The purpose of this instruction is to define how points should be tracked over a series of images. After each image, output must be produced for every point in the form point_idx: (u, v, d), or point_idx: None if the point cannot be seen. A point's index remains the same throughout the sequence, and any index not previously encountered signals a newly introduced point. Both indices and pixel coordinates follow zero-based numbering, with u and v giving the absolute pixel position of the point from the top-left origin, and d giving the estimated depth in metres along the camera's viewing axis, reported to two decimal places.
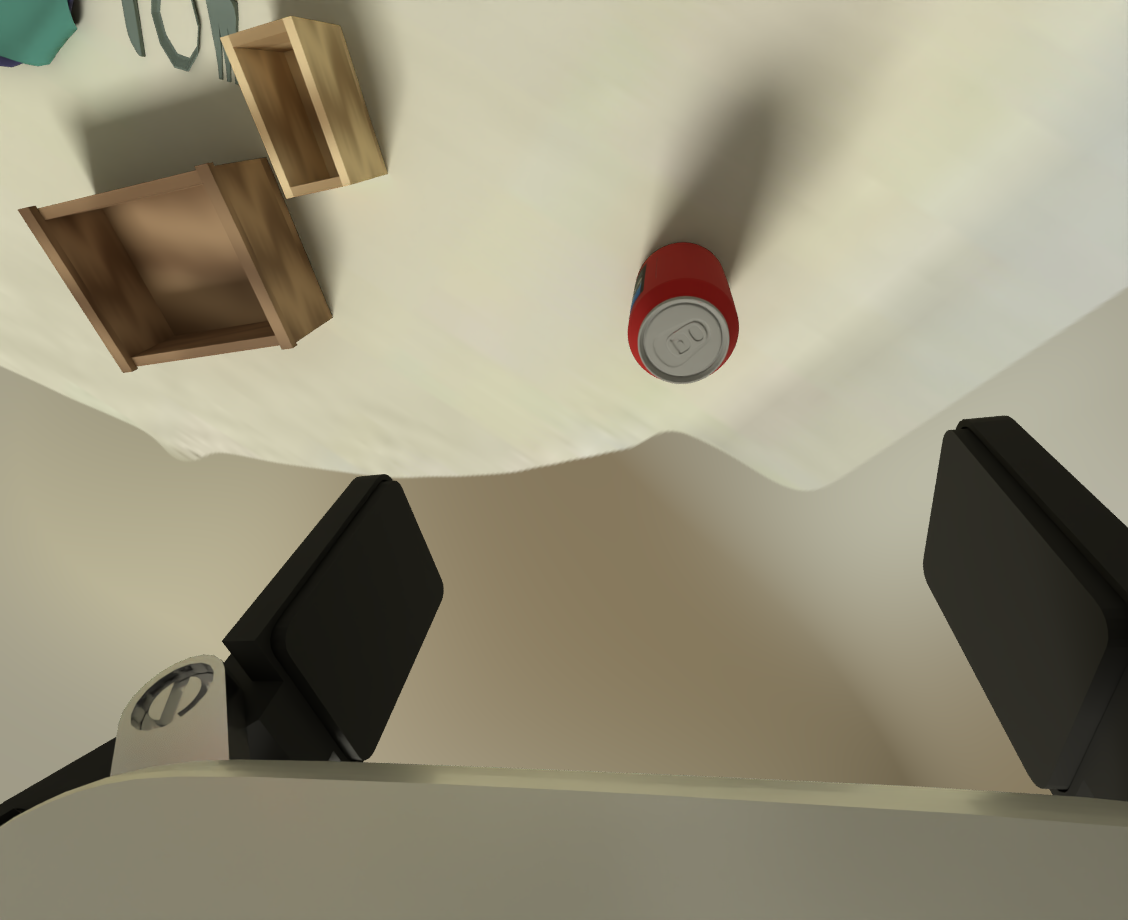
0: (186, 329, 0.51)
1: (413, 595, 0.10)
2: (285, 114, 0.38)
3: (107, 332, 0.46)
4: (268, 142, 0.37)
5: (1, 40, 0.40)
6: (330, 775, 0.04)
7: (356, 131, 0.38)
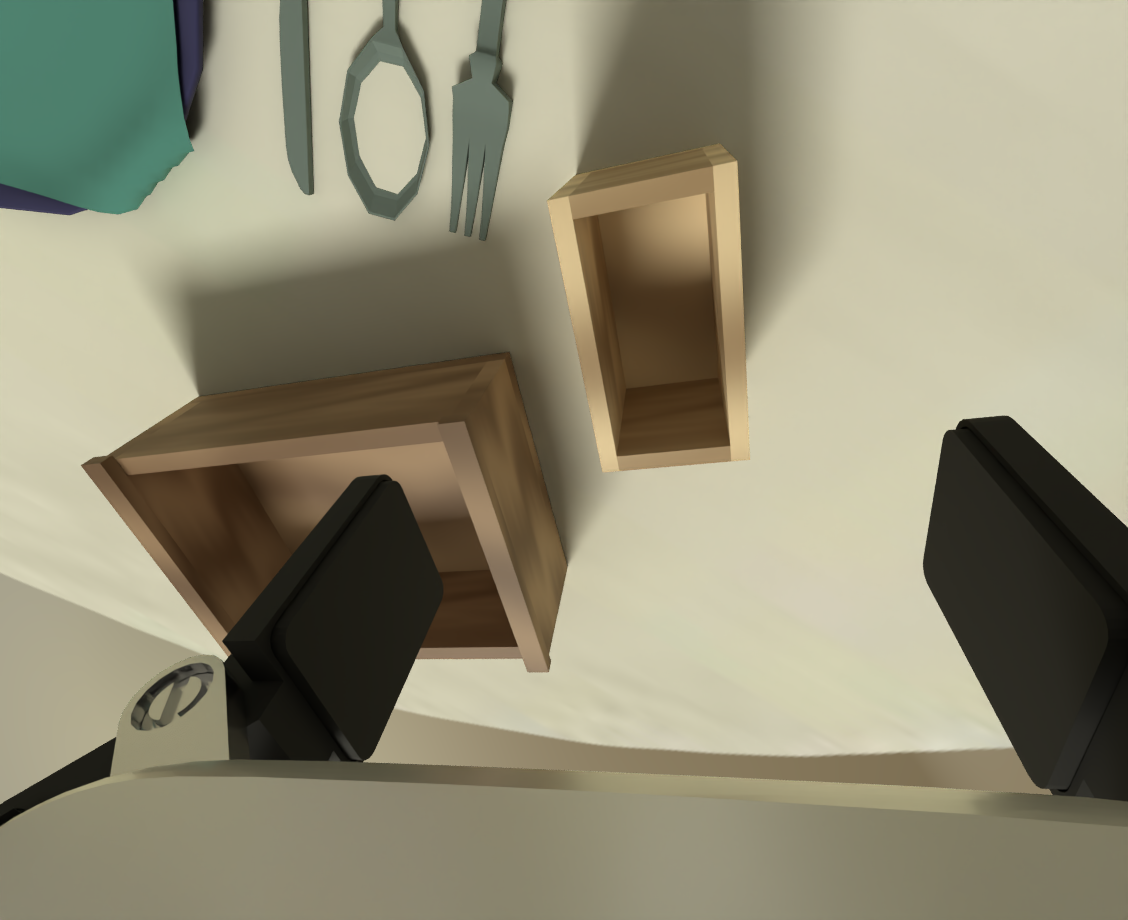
0: None
1: (413, 595, 0.10)
2: (604, 313, 0.20)
3: (221, 625, 0.27)
4: (596, 385, 0.18)
5: (52, 171, 0.22)
6: (329, 777, 0.04)
7: None
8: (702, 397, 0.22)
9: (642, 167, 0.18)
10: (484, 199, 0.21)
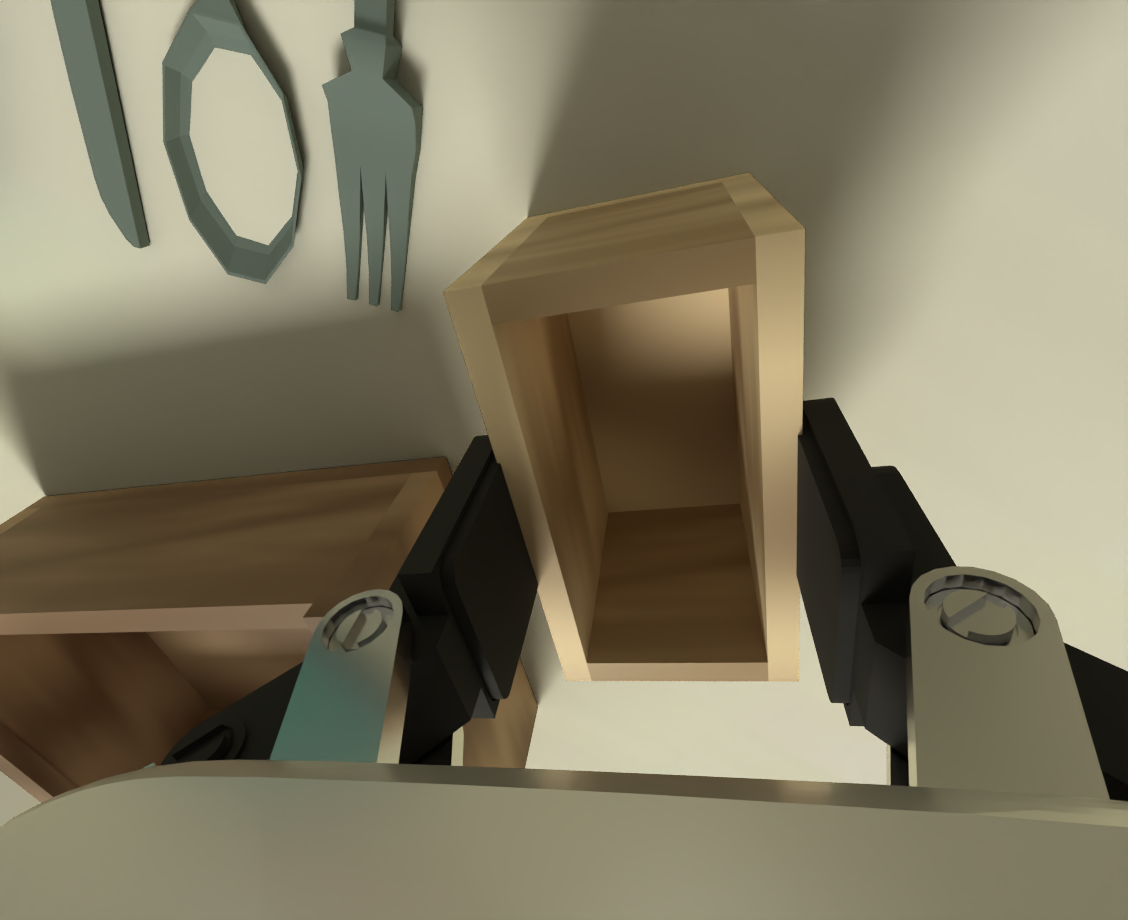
0: (234, 702, 0.26)
1: None
2: (567, 437, 0.13)
3: None
4: (549, 571, 0.11)
5: None
6: (329, 776, 0.04)
7: None
8: (718, 542, 0.15)
9: (624, 217, 0.11)
10: (393, 253, 0.14)
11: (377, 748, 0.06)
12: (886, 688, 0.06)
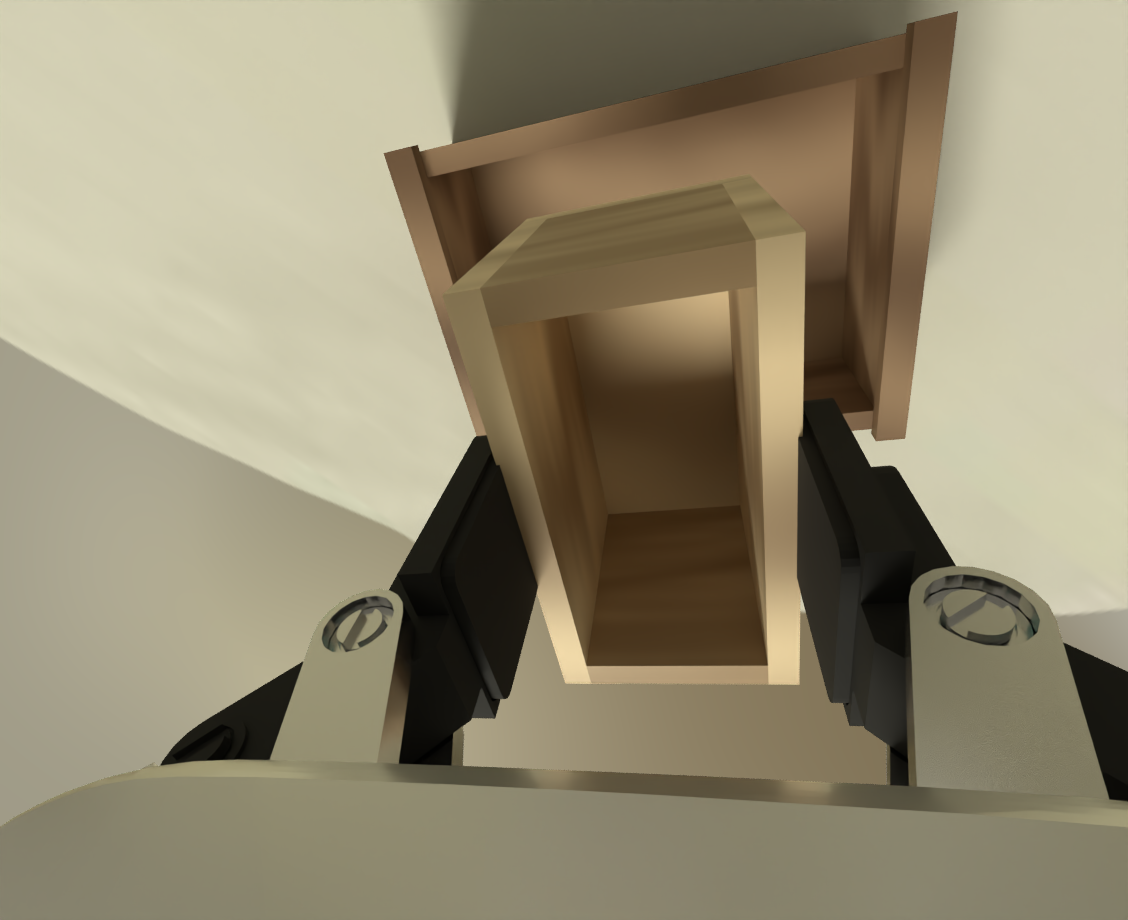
0: None
1: None
2: (567, 439, 0.13)
3: None
4: (549, 574, 0.11)
5: None
6: (330, 777, 0.04)
7: None
8: (718, 545, 0.15)
9: (624, 219, 0.10)
10: None
11: (377, 748, 0.06)
12: (886, 688, 0.06)
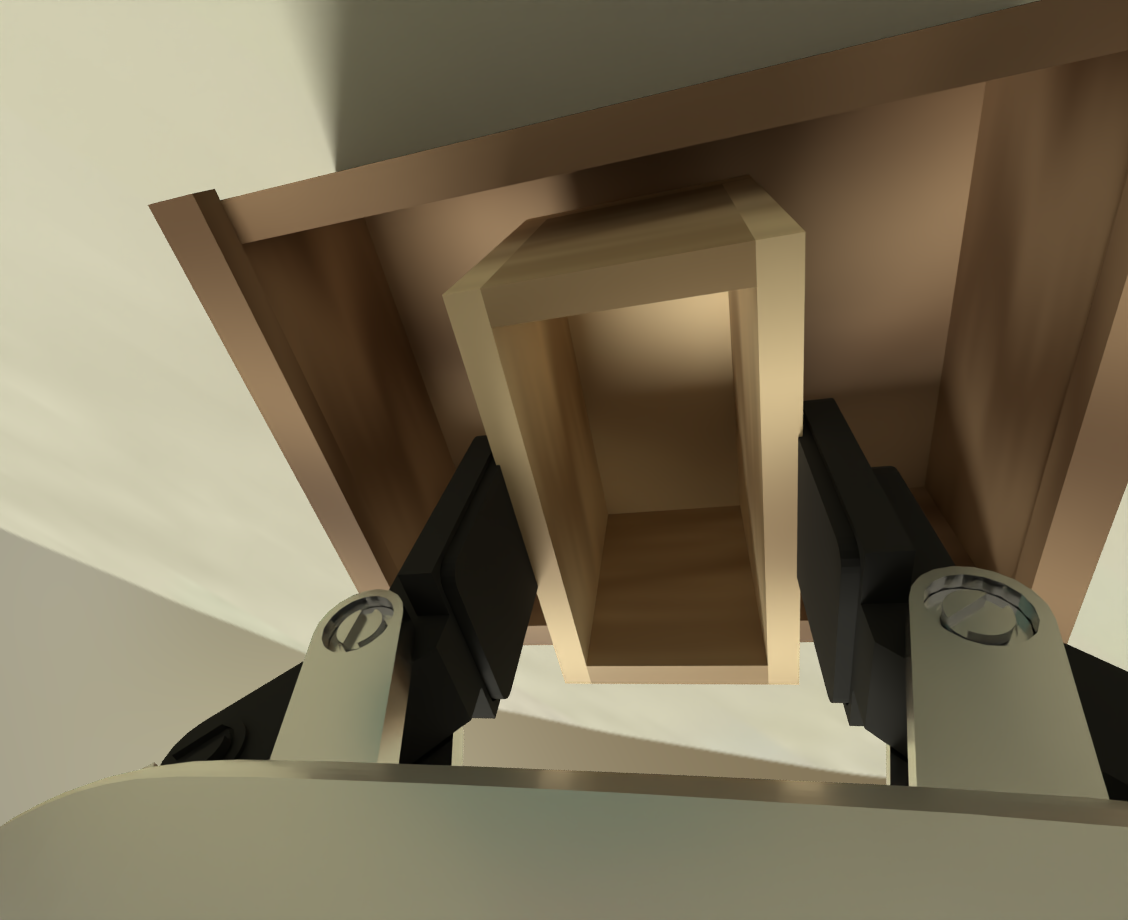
0: None
1: None
2: (567, 439, 0.13)
3: (385, 581, 0.15)
4: (549, 574, 0.11)
5: None
6: (330, 777, 0.04)
7: None
8: (717, 544, 0.15)
9: (624, 219, 0.10)
10: None
11: (377, 748, 0.06)
12: (886, 688, 0.06)
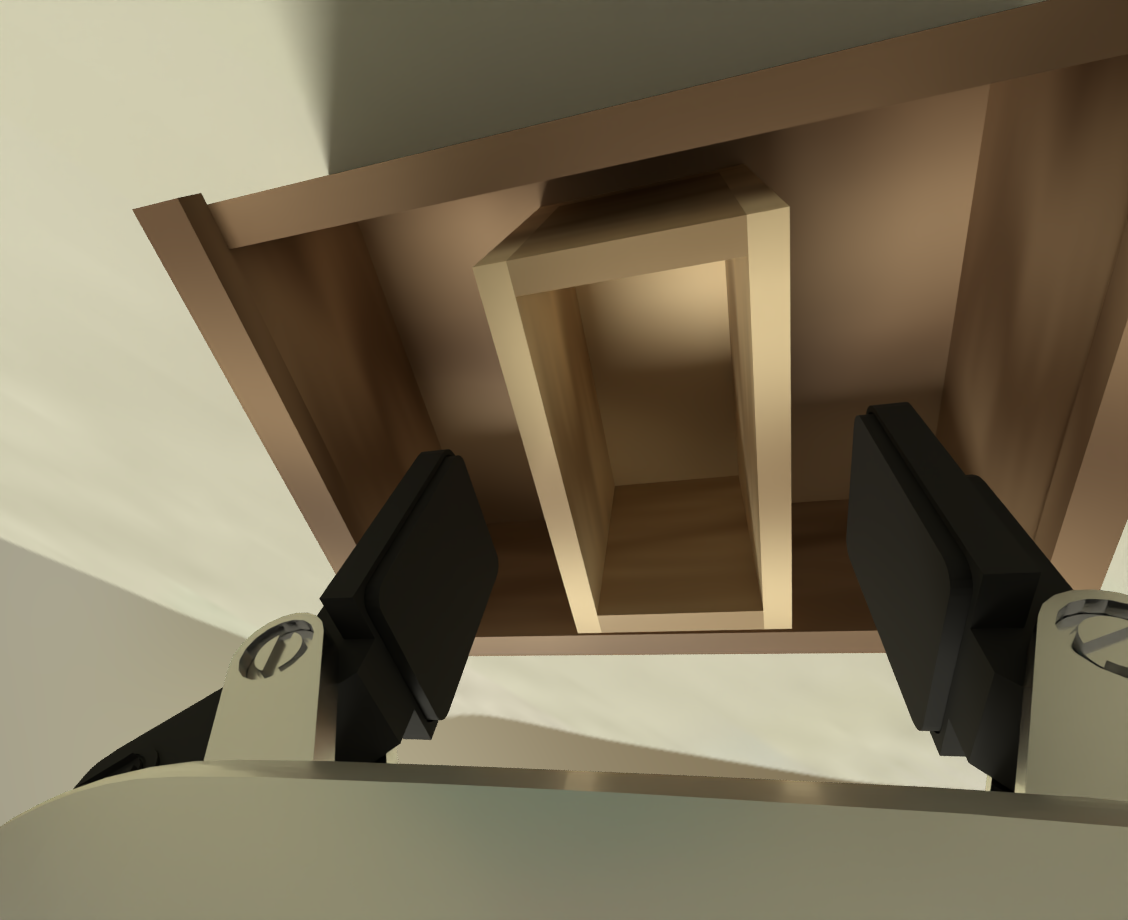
0: (508, 513, 0.20)
1: (475, 567, 0.11)
2: (578, 408, 0.14)
3: None
4: (563, 527, 0.12)
5: None
6: (329, 778, 0.04)
7: None
8: (717, 510, 0.16)
9: (630, 203, 0.12)
10: None
11: None
12: (1003, 722, 0.06)
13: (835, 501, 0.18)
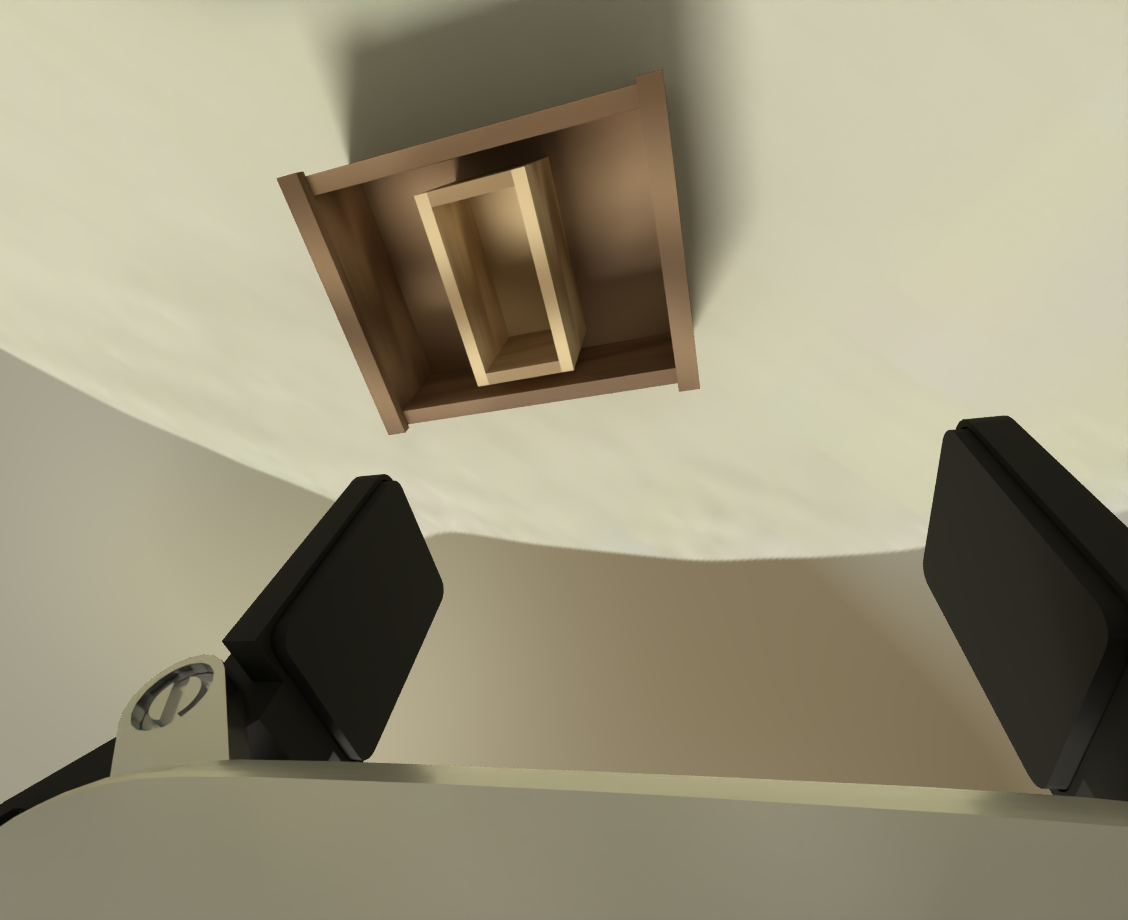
0: (454, 364, 0.35)
1: (413, 595, 0.10)
2: (474, 275, 0.28)
3: (379, 374, 0.29)
4: (463, 321, 0.27)
5: None
6: (330, 777, 0.04)
7: (568, 292, 0.29)
8: None
9: (487, 173, 0.26)
10: None
11: None
12: None
13: (629, 341, 0.32)
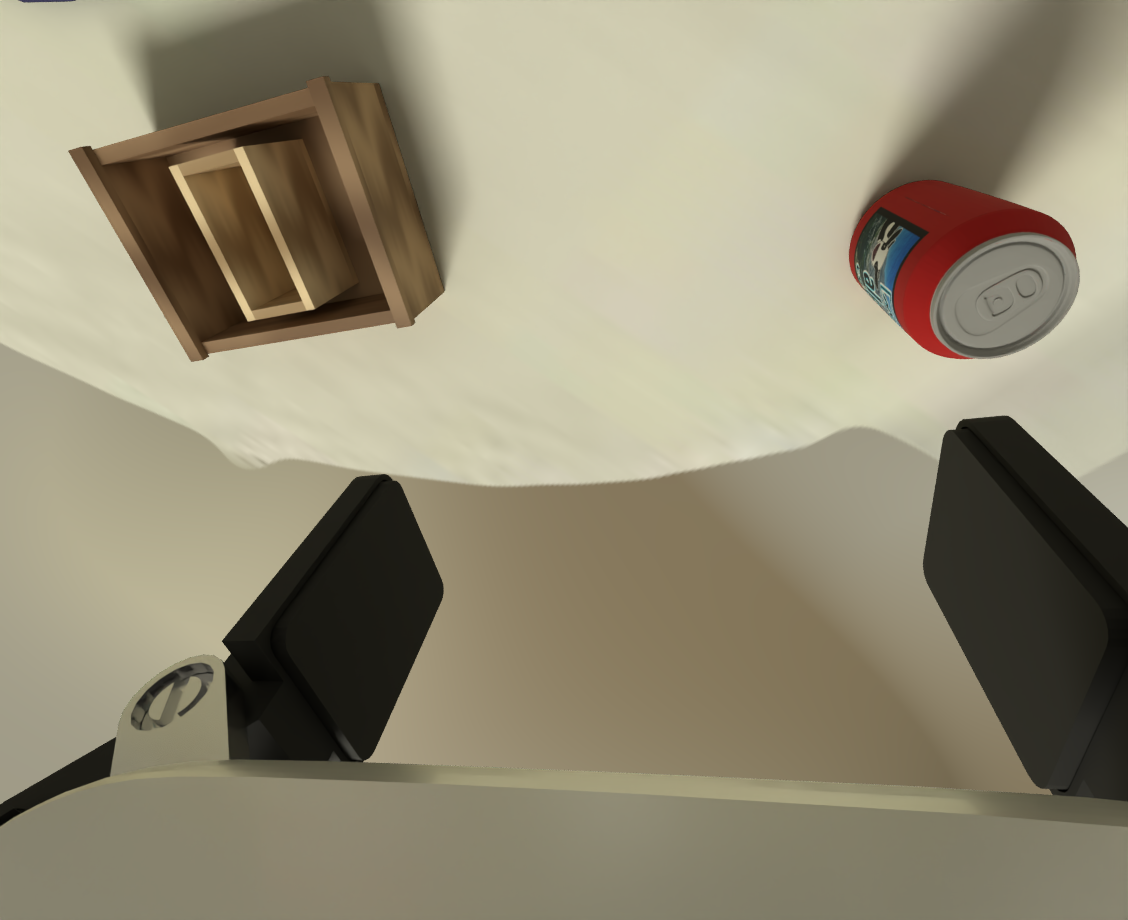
0: None
1: (413, 595, 0.10)
2: (245, 232, 0.36)
3: (174, 310, 0.37)
4: (225, 267, 0.34)
5: None
6: (330, 777, 0.04)
7: (321, 248, 0.36)
8: None
9: None
10: None
11: None
12: None
13: None
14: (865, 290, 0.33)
